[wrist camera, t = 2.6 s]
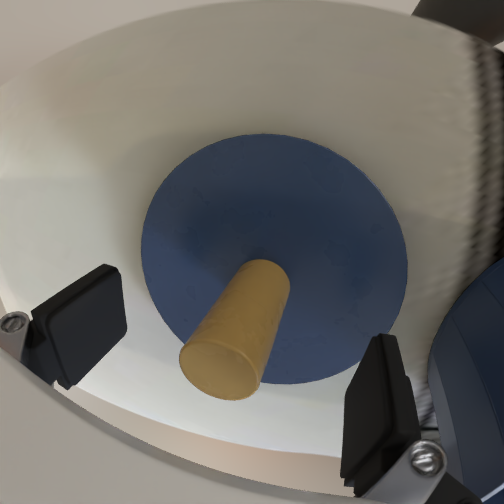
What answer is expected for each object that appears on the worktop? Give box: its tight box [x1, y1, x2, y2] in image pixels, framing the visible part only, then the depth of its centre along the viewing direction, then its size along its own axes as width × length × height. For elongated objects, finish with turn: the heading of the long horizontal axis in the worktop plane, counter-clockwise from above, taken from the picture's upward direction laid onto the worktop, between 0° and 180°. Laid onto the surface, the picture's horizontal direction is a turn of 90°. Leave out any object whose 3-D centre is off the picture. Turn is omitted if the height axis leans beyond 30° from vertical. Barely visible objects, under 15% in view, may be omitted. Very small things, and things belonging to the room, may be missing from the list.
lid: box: [141, 134, 408, 400], centre depth 10 cm, size 12×12×7 cm
